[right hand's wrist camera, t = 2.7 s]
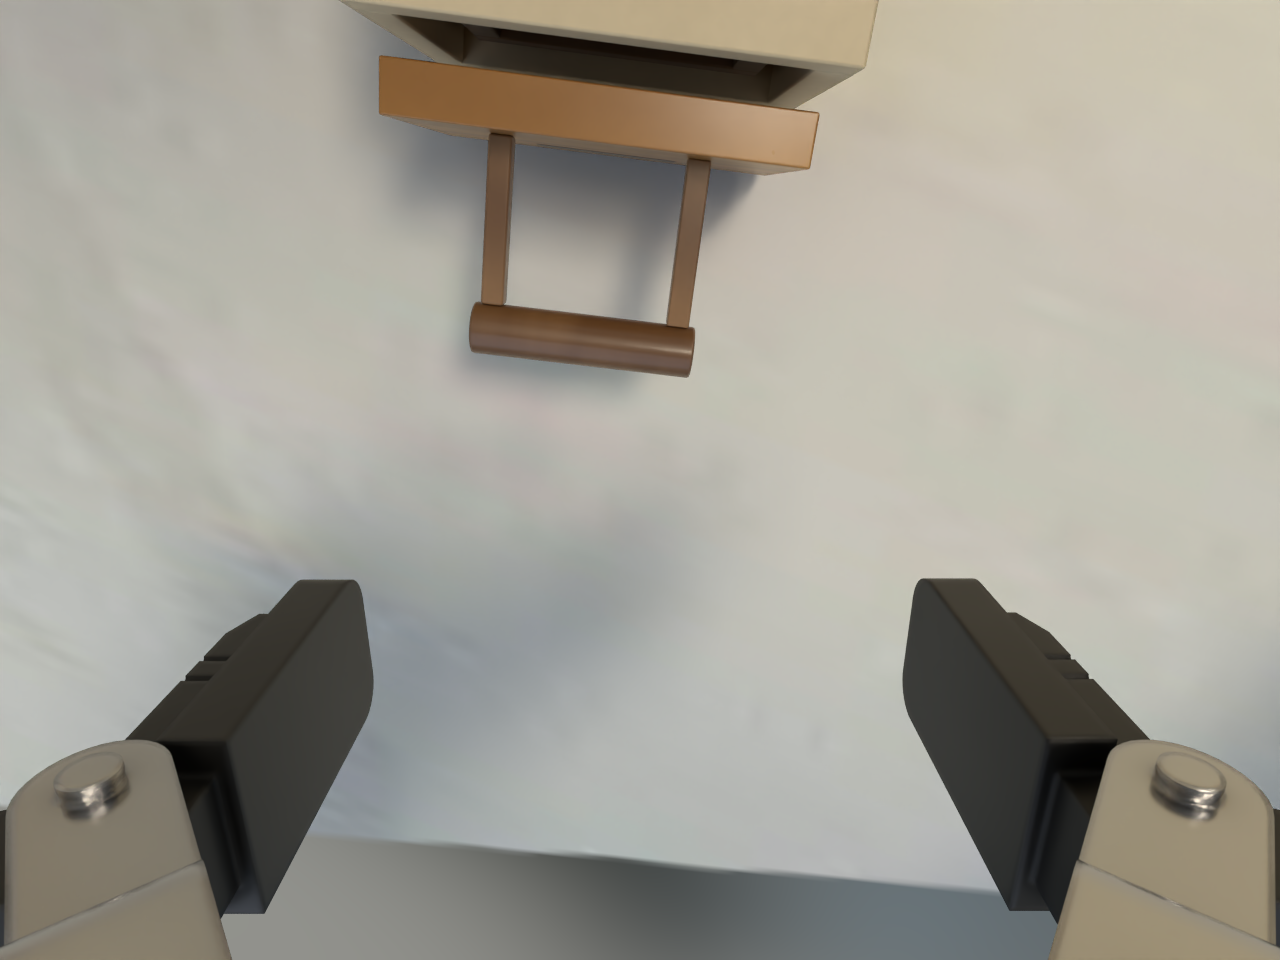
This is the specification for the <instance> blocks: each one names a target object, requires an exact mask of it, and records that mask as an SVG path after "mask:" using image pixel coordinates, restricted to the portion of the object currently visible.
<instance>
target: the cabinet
mask: <svg viewBox="0 0 1280 960" xmlns="http://www.w3.org/2000/svg"><path fill="white" fill-rule="evenodd" d="M339 1H341V2H343V3H344V4H346V5H347V6H349V7H351V8H352V9H354V10H355V11H357V12H358V13H360V14H361V15H363V16H365V17H366V18H368V19H369V20H371V21H373V22H374V23H376V24H377V25H379V26H381V27H382V28H384V29H385V30H387V31H389V32H390V33H392V34H393V35H395V36H396V37H398V38H400V39H401V40H403V41H404V42H406V43H408V44H409V45H411V46H412V47H414V48H416V49H417V50H419V51H420V52H422V53H424V54H425V55H427V56H428V57H430V58H431V59H433V60H434V61H436V62H437V63H444V64H452V65H459V66H467V67H475V68H482V69H490V70H498V71H505V72H513V73H521V74H528V75H536V76H544V77H551V78H559V79H567V80H574V81H582V82H590V83H597V84H605V85H613V86H620V87H628V88H636V89H643V90H651V91H658V92H666V93H674V94H681V95H689V96H697V97H704V98H712V99H720V100H727V101H735V102H743V103H750V104H758V105H766V106H773V107H781V108H789V109H795V108H796V107H798V106H800V105H801V104H803V103H805V102H807V101H808V100H810V99H812V98H814V97H815V96H817V95H819V94H821V93H823V92H824V91H826V90H828V89H830V88H831V87H833V86H835V85H837V84H839V83H840V82H842V81H844V80H846V79H847V78H849V77H851V76H853V75H854V74H856V73H857V72H859V71H861V70H863V69H864V68H865V66H866V62H867V57H868V52H869V47H870V42H871V36H872V31H873V26H874V21H875V16H876V11H877V6H878V1H879V0H339ZM462 23H464V24H472V25H479V26H487V27H495V28H502V29H510V30H517V31H525V32H532V33H540V34H547V35H555V36H562V37H570V38H578V39H585V40H593V41H600V42H608V43H615V44H623V45H630V46H638V47H645V48H653V49H661V50H668V51H676V52H683V53H691V54H698V55H706V56H713V57H721V58H728V59H736V60H744V61H751V62H759V63H766V64H767V65H766V66H765V67H764V68H763V69H762V70H761V71H760V72H759V73H758V74H757V75H756V76H747V75H740V74H732V73H725V72H717V71H710V70H702V69H694V68H687V67H679V66H672V65H664V64H656V63H649V62H641V61H634V60H626V59H619V58H611V57H603V56H596V55H588V54H581V53H573V52H565V51H558V50H550V49H543V48H535V47H528V46H520V45H512V44H505V43H497V42H490V41H482V40H479V39H478V38H477V37H476V36H475V35H474V34H473V33H472V32H470V31H469V30H468V29H467V28H466V27H465V26H464V25H463V24H462Z"/></svg>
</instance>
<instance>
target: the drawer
mask: <svg viewBox="0 0 1280 960" xmlns="http://www.w3.org/2000/svg"><path fill="white" fill-rule="evenodd" d="M462 24H463V25H464V26H465V27H466V28H467V29H468V30H469V31H470V32H472V33H473V34H474V35H475V36H476V37H477V38H478V39H479V40H482V41H490V42H497V43H505V44H512V45H520V46H528V47H535V48H543V49H550V50H558V51H565V52H573V53H581V54H588V55H596V56H603V57H611V58H619V59H626V60H634V61H641V62H649V63H656V64H664V65H672V66H679V67H687V68H694V69H702V70H710V71H717V72H725V73H732V74H740V75H747V76H756V75H757V74H758V73H759V72H760V71H761V70H762V69H763V68H764V67H765V66H766V65H767V64H766V63H759V62H751V61H744V60H736V59H728V58H721V57H713V56H706V55H698V54H691V53H683V52H676V51H668V50H661V49H653V48H645V47H638V46H630V45H623V44H615V43H608V42H600V41H593V40H585V39H578V38H570V37H562V36H555V35H547V34H540V33H532V32H525V31H517V30H510V29H502V28H495V27H487V26H479V25H472V24H464V23H462ZM379 113H380V114H381V115H383V116H387V117H390V118H394V119H397V120H400V121H404V122H407V123H411V124H414V125H417V126H421V127H424V128H427V129H431V130H434V131H438V132H441V133H444V134H448V135H451V136H459V137H467V138H475V139H483V140H488V159H487V180H486V202H485V224H484V246H483V268H482V290H481V302H476V303H475V304H474V306H473V308H472V312H471V317H470V325H469V344H470V348H471V351H472V352H474V353H481V354H490V355H498V356H507V357H515V358H524V359H532V360H541V361H549V362H558V363H566V364H575V365H583V366H592V367H600V368H609V369H617V370H626V371H634V372H643V373H651V374H660V375H668V376H677V377H685V378H687V377H689V375H690V371H691V366H692V360H693V353H694V344H695V329H694V328H693V327H689V321H690V313H691V306H692V299H693V292H694V285H695V277H696V270H697V263H698V256H699V249H700V241H701V234H702V227H703V220H704V213H705V205H706V198H707V191H708V184H709V177H710V169H718V170H726V171H734V172H742V173H750V174H757V175H772V174H779V173H786V172H793V171H800V170H807V169H809V168H810V165H811V159H812V154H813V148H814V143H815V137H816V132H817V126H818V121H819V113H818V112H812V111H804V110H796V109H789V108H781V107H773V106H766V105H758V104H750V103H743V102H735V101H727V100H720V99H712V98H704V97H697V96H689V95H681V94H674V93H666V92H658V91H651V90H643V89H636V88H628V87H620V86H613V85H605V84H597V83H590V82H582V81H574V80H567V79H559V78H551V77H544V76H536V75H528V74H521V73H513V72H505V71H498V70H490V69H482V68H475V67H467V66H459V65H452V64H444V63H436V62H429V61H421V60H413V59H406V58H398V57H391V56H383V55H381V56H379ZM515 144H522V145H530V146H538V147H545V148H553V149H561V150H569V151H577V152H585V153H593V154H600V155H608V156H616V157H624V158H632V159H640V160H647V161H655V162H663V163H671V164H679V165H686V170H685V178H684V186H683V194H682V201H681V209H680V217H679V225H678V233H677V240H676V248H675V256H674V264H673V271H672V279H671V287H670V295H669V303H668V310H667V318H666V323H667V324H661V323H653V322H644V321H636V320H628V319H619V318H611V317H603V316H594V315H586V314H578V313H569V312H561V311H553V310H544V309H536V308H528V307H519V306H511V305H503V304H505V303H506V297H507V279H508V262H509V244H510V227H511V209H512V192H513V174H514V157H515Z"/></svg>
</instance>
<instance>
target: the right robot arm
mask: <svg viewBox="0 0 1280 960" xmlns="http://www.w3.org/2000/svg"><path fill="white" fill-rule="evenodd" d="M1070 656H1071V655H1070V654H1069V653H1068V652H1067V651H1066V650H1065V648H1064V647H1063V646H1062V645H1061V644H1060V643H1059V642H1058V641H1057V640H1056V639H1055V638H1054V637H1053V636H1052V635H1051V634H1050V633H1049V632H1048V631H1046V630H1045V629H1043V628H1041V627H1040V626H1038V625H1036V624H1035V623H1033V622H1031V621H1029V620H1028V619H1026V618H1024V617H1023V616H1021V615H1019V614H1018V613H1007V612H1006V611H1005V610H1004V609H1003V608H1002V607H1001V605H1000V604H999V603H998V602H997V601H996V600H995V599H994V598H993V596H992V595H991V594H990V593H989V592H988V591H987V590H986V588H985V587H984V586H983V585H982V584H981V583H980V582H979V581H978V580H976V579H920V580H919V581H918V583H917V585H916V587H915V591H914V595H913V602H912V609H911V616H910V624H909V631H908V638H907V646H906V653H905V660H904V668H903V694H904V701H905V705H906V709H907V712H908V715H909V717H910V719H911V721H912V723H913V725H914V727H915V729H916V731H917V733H918V735H919V737H920V739H921V741H922V743H923V744H924V746H925V748H926V750H927V752H928V754H929V756H930V758H931V760H932V762H933V764H934V766H935V768H936V770H937V772H938V773H939V775H940V777H941V779H942V781H943V783H944V785H945V787H946V789H947V791H948V793H949V795H950V797H951V799H952V801H953V802H954V804H955V806H956V808H957V810H958V812H959V814H960V816H961V818H962V820H963V822H964V824H965V826H966V828H967V829H968V831H969V833H970V835H971V837H972V839H973V841H974V843H975V845H976V847H977V849H978V851H979V853H980V855H981V857H982V858H983V860H984V862H985V864H986V866H987V868H988V870H989V872H990V874H991V876H992V878H993V880H994V882H995V884H996V886H997V887H998V889H999V891H1000V893H1001V895H1002V897H1003V899H1004V901H1005V903H1006V905H1007V907H1008V909H1009V910H1010V911H1050V912H1051V914H1052V915H1053V917H1054V919H1055V921H1056V923H1057V924H1058V926H1057V930H1056V933H1055V937H1054V940H1053V944H1052V947H1051V951H1050V954H1049V958H1048V960H1280V810H1277V809H1273V808H1272V806H1271V804H1270V802H1269V800H1268V798H1267V797H1266V796H1265V794H1264V793H1263V792H1262V791H1261V790H1260V789H1259V788H1258V787H1257V786H1256V785H1255V784H1254V783H1253V782H1252V781H1251V780H1250V779H1248V778H1247V777H1246V776H1245V775H1243V774H1242V773H1240V772H1239V771H1237V770H1236V769H1234V768H1233V767H1231V766H1230V765H1228V764H1226V763H1224V762H1222V761H1221V760H1219V759H1217V758H1214V757H1212V756H1210V755H1208V754H1206V753H1203V752H1200V751H1198V750H1195V749H1192V748H1189V747H1186V746H1183V745H1179V744H1175V743H1170V742H1165V741H1158V740H1150V739H1149V738H1148V737H1147V736H1146V735H1145V734H1144V733H1143V732H1142V730H1141V729H1140V728H1139V727H1138V726H1137V725H1136V724H1135V723H1134V722H1133V721H1132V720H1131V719H1130V718H1129V717H1128V716H1127V714H1126V713H1125V712H1124V711H1123V710H1122V709H1121V708H1120V707H1119V706H1118V705H1117V704H1116V703H1115V702H1114V701H1113V700H1112V699H1111V697H1110V696H1109V695H1108V694H1107V693H1106V692H1105V691H1104V690H1103V689H1102V688H1101V687H1100V686H1099V685H1098V684H1097V683H1096V681H1095V680H1094V679H1089V676H1088V675H1089V674H1088V673H1087V672H1086V671H1085V670H1084V669H1083V668H1082V667H1081V666H1080V664H1079V663H1078V662H1077V661H1076V660H1071V657H1070ZM372 696H373V669H372V662H371V655H370V648H369V640H368V633H367V626H366V619H365V612H364V604H363V597H362V593H361V589H360V587H359V585H358V583H357V582H356V581H355V580H300V581H298V582H297V583H295V584H294V586H293V587H292V588H291V589H290V590H289V591H288V592H287V593H286V595H285V596H284V597H283V598H282V599H281V600H280V601H279V602H278V604H277V605H276V606H275V607H274V608H273V609H272V610H271V611H270V612H269V614H258V615H257V616H255V617H253V618H251V619H250V620H248V621H246V622H245V623H243V624H241V625H240V626H238V627H236V628H234V629H233V630H231V631H229V632H228V633H226V634H225V635H224V636H223V637H222V638H221V639H220V640H219V641H218V642H217V643H216V644H215V645H214V647H213V648H212V649H211V650H210V651H209V652H208V653H207V654H206V655H205V656H204V661H199V662H198V663H197V664H196V666H195V667H194V668H193V669H192V670H191V671H190V672H189V673H188V674H187V675H186V679H185V681H180V682H179V683H178V685H177V686H176V687H175V688H174V689H173V690H172V691H171V692H170V693H169V694H168V695H167V696H166V697H165V698H164V699H163V700H162V701H161V702H160V704H159V705H158V706H157V707H156V708H155V709H154V710H153V711H152V712H151V713H150V714H149V715H148V716H147V717H146V718H145V719H144V720H143V721H142V722H141V724H140V725H139V726H138V727H137V728H136V729H135V730H134V731H133V732H132V733H131V734H130V735H129V736H128V737H127V738H126V739H125V740H122V741H115V742H110V743H105V744H101V745H97V746H94V747H91V748H88V749H85V750H82V751H80V752H77V753H74V754H72V755H70V756H68V757H66V758H63V759H61V760H59V761H58V762H56V763H54V764H52V765H50V766H49V767H47V768H46V769H44V770H43V771H41V772H40V773H38V774H37V775H35V776H34V777H33V778H32V779H30V780H29V781H28V782H27V783H26V784H25V785H24V786H23V787H22V788H21V789H20V790H19V791H18V792H17V793H16V794H15V796H14V797H13V798H12V800H11V802H10V804H9V806H8V808H7V810H3V811H0V960H232V958H231V954H230V951H229V947H228V944H227V940H226V937H225V933H224V930H223V926H222V923H221V917H222V916H223V914H264V913H265V912H266V910H267V908H268V906H269V904H270V902H271V900H272V898H273V896H274V894H275V892H276V891H277V889H278V887H279V885H280V883H281V881H282V879H283V877H284V875H285V873H286V871H287V870H288V868H289V866H290V864H291V862H292V860H293V858H294V856H295V854H296V852H297V850H298V849H299V847H300V845H301V843H302V841H303V839H304V837H305V835H306V833H307V831H308V829H309V828H310V826H311V824H312V822H313V820H314V818H315V816H316V814H317V812H318V810H319V808H320V807H321V805H322V803H323V801H324V799H325V797H326V795H327V793H328V791H329V789H330V787H331V786H332V784H333V782H334V780H335V778H336V776H337V774H338V772H339V770H340V768H341V766H342V765H343V763H344V761H345V759H346V757H347V755H348V753H349V751H350V749H351V747H352V745H353V744H354V742H355V740H356V738H357V736H358V734H359V732H360V730H361V728H362V726H363V724H364V723H365V721H366V718H367V716H368V713H369V710H370V707H371V702H372Z"/></svg>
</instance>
